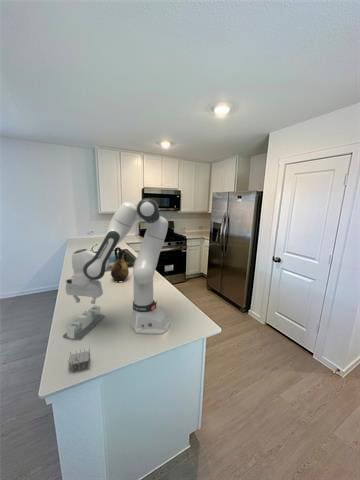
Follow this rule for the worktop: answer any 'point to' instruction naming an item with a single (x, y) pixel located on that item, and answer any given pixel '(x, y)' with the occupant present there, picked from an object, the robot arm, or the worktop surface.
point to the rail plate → (86, 330)
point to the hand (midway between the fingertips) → (85, 302)
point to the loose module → (85, 319)
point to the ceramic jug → (119, 266)
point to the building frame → (82, 358)
